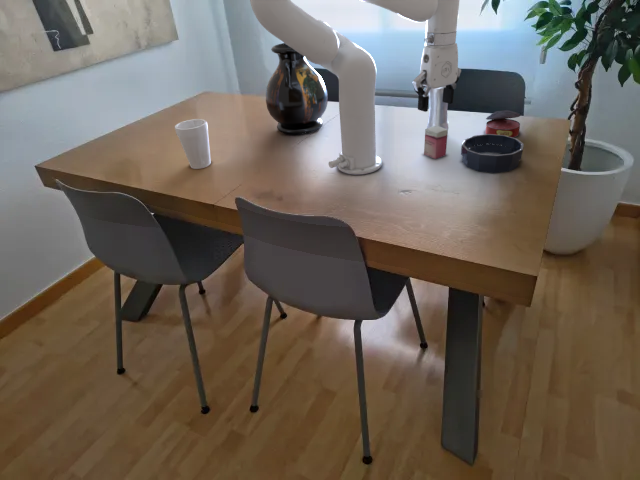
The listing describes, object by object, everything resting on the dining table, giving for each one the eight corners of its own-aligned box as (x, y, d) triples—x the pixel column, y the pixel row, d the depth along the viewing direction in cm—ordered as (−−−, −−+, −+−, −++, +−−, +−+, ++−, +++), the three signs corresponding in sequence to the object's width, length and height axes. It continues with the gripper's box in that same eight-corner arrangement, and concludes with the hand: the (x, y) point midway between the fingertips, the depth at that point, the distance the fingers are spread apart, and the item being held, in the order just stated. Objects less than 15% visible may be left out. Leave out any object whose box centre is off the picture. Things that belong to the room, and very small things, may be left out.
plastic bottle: (442, 141, 138) (447, 74, 127) (422, 137, 142) (425, 72, 131) (451, 134, 142) (456, 69, 132) (431, 131, 146) (434, 67, 135)
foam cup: (185, 173, 135) (174, 131, 128) (185, 161, 142) (174, 122, 135) (216, 167, 136) (207, 126, 129) (214, 156, 144) (205, 117, 137)
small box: (423, 154, 131) (424, 128, 126) (434, 150, 133) (435, 125, 128) (435, 159, 127) (437, 133, 123) (446, 155, 129) (448, 129, 125)
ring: (496, 178, 114) (498, 160, 111) (449, 162, 125) (450, 145, 122) (532, 161, 121) (535, 143, 118) (485, 146, 132) (487, 130, 129)
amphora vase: (324, 138, 149) (316, 49, 134) (263, 139, 153) (249, 53, 138) (334, 117, 167) (328, 37, 151) (278, 119, 171) (268, 41, 156)
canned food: (484, 149, 142) (472, 120, 139) (501, 136, 146) (490, 108, 144) (516, 140, 132) (503, 109, 130) (533, 127, 136) (521, 97, 134)
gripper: (427, 46, 106) (422, 116, 115) (475, 35, 114) (467, 102, 123) (405, 43, 111) (402, 110, 121) (452, 33, 119) (446, 97, 129)
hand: (435, 106), depth 122 cm, fingers open, 9 cm apart
